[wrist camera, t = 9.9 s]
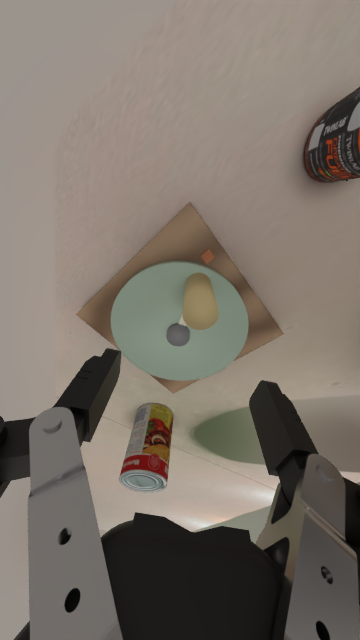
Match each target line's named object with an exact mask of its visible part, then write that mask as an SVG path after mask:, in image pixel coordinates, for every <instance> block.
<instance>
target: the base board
mask: <svg viewBox="0 0 360 640" xmlns="http://www.w3.org/2000/svg"><path fill="white" fill-rule="evenodd" d="M170 260H187V261H194V262H198V263H201V264H204V265H206V266H209V267H211V268H213V269H215V270H216V271H218V272H219V273H221V274H222V275H223V276H225V277H226V278H227V279H228V280H229V281H230V282H231V283H232V284H233V286H234V287H235V288H236V290H237V292H238V293H239V295H240V297H241V299H242V301H243V303H244V305H245V307H246V311H247V315H248V323H249V325H248V334H247V339H246V341H245V344H244V346H243V348H242V350H241V352H240V353H239V354H238V356H237V357H236V358H235V359H234V360H233V361H235V360H236V359H238V358H240V357H242V356H244V355H246V354H248V353H249V352H251V351H253V350H255V349H257V348H259V347H260V346H262V345H264V344H266V343H268V342H270V341H272V340H273V339H275V338H277V337H279V336H281V335H283V334H284V333H283V332H282V331H281V329H280V328H279V326H278V325H277V324H276V322H275V321H274V319H273V318H272V317H271V315H270V314H269V312H268V311H267V309H266V308H265V307H264V305H263V304H262V302H261V301H260V300H259V298H258V297H257V295H256V294H255V293H254V291H253V290H252V288H251V287H250V286H249V284H248V283H247V281H246V280H245V279H244V277H243V276H242V274H241V273H240V271H239V270H238V269H237V267H236V266H235V264H234V263H233V262H232V260H231V259H230V257H229V256H228V255H227V253H226V252H225V250H224V249H223V248H222V246H221V245H220V243H219V242H218V240H217V239H216V238H215V236H214V235H213V233H212V232H211V231H210V229H209V228H208V226H207V225H206V224H205V222H204V221H203V219H202V218H201V217H200V215H199V214H198V212H197V211H196V210H195V208H194V207H193V205H192V204H191V202H190V203H189V204H188V205H187V206H186V207H185V208H183V209H182V210H181V211H180V212H179V213H178V214H177V215H176V216H175V217H174V218H173V219H172V220H171V221H170V222H169V223H168V224H167V225H166V226H165V227H164V228H163V229H162V230H161V231H160V232H159V233H158V234H157V235H156V236H155V237H154V238H153V239H152V240H151V241H150V242H149V243H148V244H147V245H146V246H145V247H144V248H143V249H142V250H141V251H140V252H139V253H138V254H137V255H136V256H135V257H134V258H133V259H132V260H131V261H130V262H129V263H128V264H127V265H126V266H125V267H124V268H123V269H122V270H121V271H120V272H119V273H118V274H117V275H115V276H114V277H113V278H112V279H111V280H110V281H109V282H108V283H107V284H106V285H105V286H104V287H103V288H102V289H101V290H100V291H99V292H98V293H97V294H96V295H95V296H94V297H93V298H92V299H91V300H90V301H89V302H88V303H87V304H86V305H85V306H84V307H83V308H82V309H81V310H80V311H79V312H78V313H77V314H76V315H77V316H78V317H80V318H81V319H82V320H83V321H85V322H86V323H87V324H88V325H89V326H91V327H92V328H93V329H94V330H96V331H97V332H98V333H99V334H101V335H102V336H103V337H104V338H105V339H107V340H108V341H109V342H110V343H112V344H113V345H114V346H115V347H117V348H118V346H117V344H116V342H115V340H114V337H113V334H112V329H111V311H112V307H113V304H114V301H115V299H116V297H117V295H118V294H119V292H120V291H121V289H122V288H123V287H124V286H125V285H126V283H127V282H128V281H129V280H130V279H131V278H132V277H133V276H134V275H135V274H137V273H138V272H139V271H141V270H143V269H144V268H146V267H148V266H151V265H153V264H155V263H159V262H163V261H170ZM118 349H119V348H118ZM119 350H120V349H119ZM233 361H232V362H233ZM150 375H151V374H150ZM151 376H152V377H154V378H155V379H156V380H157V381H158V382H160V383H161V384H162V385H163V386H165V387H166V388H167V389H168V390H170V391H171V392H172V393H175V392H177V391H179V390H181V389H183V388H185V387H186V386H188V385H190V384H192V383H194V382H196V381H198V380H199V379H196V380H188V381H176V380H168V379H163V378H159V377H156V376H153V375H151Z"/></svg>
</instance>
